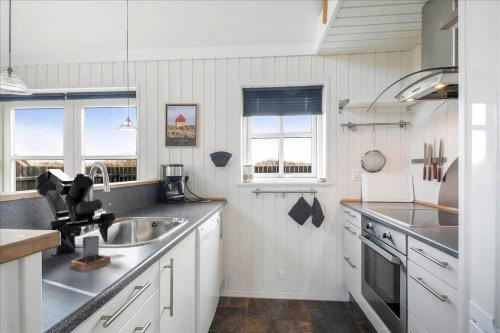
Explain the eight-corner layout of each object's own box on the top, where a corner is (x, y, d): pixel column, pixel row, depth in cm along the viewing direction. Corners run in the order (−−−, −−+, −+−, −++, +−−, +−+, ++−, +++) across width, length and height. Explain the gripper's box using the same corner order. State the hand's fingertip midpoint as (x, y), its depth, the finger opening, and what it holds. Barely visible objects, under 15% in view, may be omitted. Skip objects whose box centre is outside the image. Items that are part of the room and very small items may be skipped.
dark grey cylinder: (81, 264, 83) (81, 237, 83) (96, 261, 86) (96, 234, 87) (84, 268, 80) (84, 240, 80) (100, 264, 83) (100, 237, 83)
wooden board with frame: (64, 269, 82) (64, 260, 82) (109, 253, 96) (109, 246, 96) (88, 275, 77) (88, 266, 77) (132, 258, 91) (132, 251, 91)
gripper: (50, 194, 79) (62, 236, 72) (113, 189, 94) (128, 224, 87) (42, 217, 84) (53, 258, 77) (103, 209, 99) (117, 243, 92)
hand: (91, 245), depth 83 cm, fingers open, 9 cm apart
